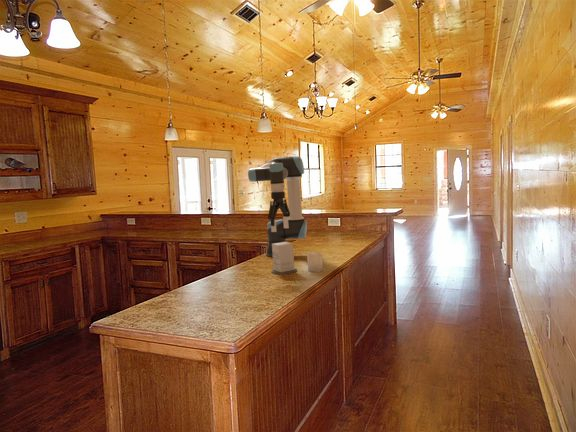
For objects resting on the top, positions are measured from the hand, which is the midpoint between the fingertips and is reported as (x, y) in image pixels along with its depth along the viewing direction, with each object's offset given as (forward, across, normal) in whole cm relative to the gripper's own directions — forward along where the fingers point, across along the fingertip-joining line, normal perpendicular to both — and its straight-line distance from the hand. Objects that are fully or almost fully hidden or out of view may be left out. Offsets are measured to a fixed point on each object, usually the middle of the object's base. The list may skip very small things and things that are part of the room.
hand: (280, 230), depth 235 cm
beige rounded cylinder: (+23, +6, -17) cm, 29 cm away
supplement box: (+22, -1, -1) cm, 23 cm away
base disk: (+23, -1, -1) cm, 23 cm away
